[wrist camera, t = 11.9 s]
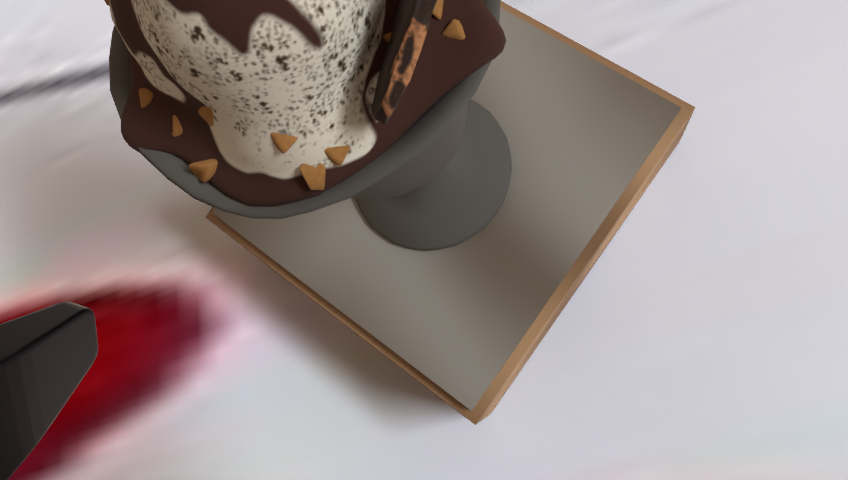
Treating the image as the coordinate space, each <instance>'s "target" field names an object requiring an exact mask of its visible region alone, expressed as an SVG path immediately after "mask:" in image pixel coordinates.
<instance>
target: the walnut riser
mask: <svg viewBox="0 0 848 480" xmlns="http://www.w3.org/2000/svg"><path fill="white" fill-rule="evenodd" d="M499 24H500V26H501V27H502V29H503V31H504V34H505V38H506V44H505V47H504V49H503V52H502V53H501V54H499V55H498V56H497V57H496V58H495V59H494V60H492V61H491V63H490V65H489V67H488V69H487V71H486V73H485V75H484V77H483V79H482V81H481V83H480V85H479V87H478V89H477V91H476V93H475V94H474V95H473V96H472V98H471V100H473V101H475V102H477V103H478V104H480V105H481V106H482V107H484V108H485V109H487V110H488V111H489V112H490V113H491V114H492V115H493V117H494V118H495V119H496V121H497V122H498V123H499V125H500V126H501V128H502V130H503V132H504V134H505V135H506V137H507V140H508V144H509V149H510V153H511V163H512V173H511V178H510V184H509V188H508V191H507V194H506V197H505V200H504V202H503V204H502V205H501V207H500V208H499V210H498V212H497V213H496V215H495V216H494V217H493V218H492V220H491V221H490V222H489V223H488V224H487V226H486V227H485V228H484V229H482V230H481V231H480V232H478V233H477V234H475V235H474V236H472V237H471V238H469V239H467V240H466V241H464V242H462V243H460V244H458V245H456V246H452V247H448V248H444V249H438V250H428V251H422V250H416V249H410V248H406V247H403V246H400V245H397V244H394V243H392V242H391V241H389V240H388V239H386V238H385V237H383V236H381V235H380V234H379V233H378V232H377V231H376V230H374V229H373V228H372V227H371V226H370V225H369V223H368V222H367V220H366V219H365V217H364V216H363V214H362V213H361V211H360V209H359V206H358V204H357V202H356V200H355V198H349V199H347V200H344V201H341V202H338V203H335V204H332V205H329V206H327V207H324V208H321V209H318V210H315V211H312V212H308V213H304V214H300V215H296V216H292V217H288V218H283V219H257V218H248V217H244V216H240V215H236V214H232V213H227V212H224V211H222V210H219V209H217V208H215V207H212V209H211V210H210V212H209V213H208V214H207V216H206V218H207V219H208V220H210V221H211V222H212V223H214V224H215V225H216V226H218V227H219V228H220V229H221V230H223V231H224V232H225V233H227V234H228V235H229V236H231V237H232V238H233V239H234V240H236V241H237V242H238V243H240V244H241V245H242V246H244V247H245V248H246V249H247V250H249V251H250V252H251V253H253V254H254V255H255V256H257V257H258V258H259V259H260V260H262V261H263V262H264V263H266V264H267V265H268V266H270V267H271V268H272V269H273V270H275V271H276V272H277V273H279V274H280V275H281V276H283V277H284V278H285V279H286V280H288V281H289V282H290V283H292V284H293V285H294V286H296V287H297V288H298V289H299V290H301V291H302V292H303V293H305V294H306V295H307V296H309V297H310V298H311V299H312V300H314V301H315V302H316V303H318V304H319V305H320V306H322V307H323V308H324V309H325V310H327V311H328V312H329V313H331V314H332V315H333V316H335V317H336V318H337V319H338V320H340V321H341V322H342V323H344V324H345V325H346V326H348V327H349V328H350V329H351V330H353V331H354V332H355V333H357V334H358V335H359V336H361V337H362V338H363V339H364V340H366V341H367V342H368V343H370V344H371V345H372V346H374V347H375V348H376V349H377V350H379V351H380V352H381V353H383V354H384V355H385V356H387V357H388V358H389V359H390V360H392V361H393V362H394V363H396V364H397V365H398V366H400V367H401V368H402V369H403V370H405V371H406V372H407V373H409V374H410V375H411V376H413V377H414V378H415V379H416V380H418V381H419V382H420V383H422V384H423V385H424V386H426V387H427V388H428V389H429V390H431V391H432V392H433V393H435V394H436V395H437V396H439V397H440V398H441V399H442V400H444V401H445V402H446V403H448V404H449V405H450V406H452V407H453V408H454V409H455V410H457V411H458V412H459V413H461V414H462V415H463V416H465V417H466V418H467V419H468V420H470V421H471V422H472V423H474V424H475V425H476V424H477V423H478V422H480V421H481V420H483V419H484V418H485V417H487V416H488V415H490V414H491V412H492V411H493V410H494V408H495V407H496V405H497V404H498V402H499V401H500V399H501V398H502V397H503V395H504V394H505V392H506V391H507V389H508V388H509V386H510V385H511V384H512V382H513V381H514V379H515V378H516V376H517V375H518V374H519V372H520V371H521V369H522V368H523V366H524V365H525V363H526V362H527V361H528V359H529V358H530V356H531V355H532V353H533V352H534V350H535V349H536V348H537V346H538V345H539V343H540V342H541V340H542V339H543V337H544V336H545V335H546V333H547V332H548V330H549V329H550V327H551V326H552V324H553V323H554V322H555V320H556V319H557V317H558V316H559V314H560V313H561V311H562V310H563V309H564V307H565V306H566V304H567V303H568V301H569V300H570V298H571V297H572V296H573V294H574V293H575V291H576V290H577V288H578V287H579V286H580V284H581V283H582V281H583V280H584V278H585V277H586V275H587V274H588V273H589V271H590V270H591V268H592V267H593V265H594V264H595V262H596V261H597V260H598V258H599V257H600V255H601V254H602V252H603V251H604V249H605V248H606V247H607V245H608V244H609V242H610V241H611V239H612V238H613V236H614V235H615V234H616V232H617V231H618V229H619V228H620V226H621V225H622V223H623V222H624V221H625V219H626V218H627V216H628V215H629V213H630V212H631V210H632V209H633V208H634V206H635V205H636V203H637V202H638V200H639V199H640V198H641V196H642V195H643V193H644V192H645V190H646V189H647V187H648V186H649V185H650V183H651V182H652V180H653V179H654V177H655V176H656V174H657V173H658V172H659V170H660V169H661V167H662V166H663V164H664V163H665V161H666V160H667V159H668V157H669V156H670V154H671V153H672V151H673V150H674V148H675V147H676V146H677V144H678V143H679V141H680V139H681V137H682V135H683V133H684V131H685V129H686V126H687V124H688V122H689V120H690V118H691V116H692V113H693V111H694V109H695V107H694V106H692V105H690V104H688V103H686V102H684V101H683V100H681V99H679V98H677V97H675V96H673V95H672V94H670V93H668V92H666V91H664V90H662V89H661V88H659V87H657V86H655V85H653V84H652V83H650V82H648V81H646V80H644V79H642V78H641V77H639V76H637V75H635V74H633V73H631V72H630V71H628V70H626V69H624V68H622V67H621V66H619V65H617V64H615V63H613V62H611V61H610V60H608V59H606V58H604V57H602V56H600V55H599V54H597V53H595V52H593V51H591V50H589V49H588V48H586V47H584V46H582V45H580V44H579V43H577V42H575V41H573V40H571V39H569V38H568V37H566V36H564V35H562V34H560V33H558V32H557V31H555V30H553V29H551V28H549V27H547V26H546V25H544V24H542V23H540V22H538V21H537V20H535V19H533V18H531V17H529V16H527V15H526V14H524V13H522V12H520V11H518V10H516V9H515V8H513V7H511V6H509V5H507V4H505V3H504V2H502V1H500V20H499Z"/></svg>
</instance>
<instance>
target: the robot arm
mask: <svg viewBox="0 0 848 480" xmlns="http://www.w3.org/2000/svg"><path fill="white" fill-rule="evenodd" d="M97 351H98V342H97V332H96V323H95V315H94V313H93V311H92V310H91V309H89V308H87V307H84V306H81V305H78V304H75V303H72V302H62V303H59V304H56V305H53V306H50V307H47V308H44V309H42V310H39V311H36V312H33V313H30V314H28V315H25V316H22V317H19V318H16V319H13V320H11V321H8V322H5V323H2V324H0V480H8V479H9V478H10V477H11V475H12V474H13V473H14V472H15V471H16V470H17V468H18V467H19V466H20V465H21V464H22V462H23V461H24V460H25V459H26V458H27V456H28V455H29V454H30V453H31V451H32V450H33V449H34V448H35V446H36V445H37V444H38V442H39V441H40V440H41V438H42V437H43V436H44V434H45V433H46V431H47V430H48V428H49V427H50V425H51V424H52V423H53V421H54V420H55V418H56V417H57V415H58V414H59V412H60V411H61V409H62V408H63V406H64V405H65V404H66V402H67V401H68V399H69V398H70V396H71V395H72V393H73V392H74V390H75V389H76V388H77V386H78V385H79V383H80V382H81V380H82V379H83V377H84V376H85V374H86V373H87V371H88V370H89V369H90V367H91V366H92V364H93V362H94V360H95V358H96V355H97Z"/></svg>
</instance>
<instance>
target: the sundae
mask: <svg viewBox="0 0 848 480" xmlns="http://www.w3.org/2000/svg"><path fill="white" fill-rule="evenodd" d="M500 1H501V0H105V2H106V4H107V5H109V6H110V12H111V17H112V21H113V22H114V24H115V25H114V29H113V32H112V40H111V48H110V56H109V69H110V91H111V94H112V97H113V100H114V102H115V105H116V108H117V111H118V113H119V116H120V119H121V132H122V135H123V138H124V140H125V141H126V142H127V143H128V145H129V146H130V147H132V148H133V149H135V150H136V151H138V152H140V153H141V154H142V155H143V156H144V157H145V158H146V159H147V160H148V161H149V162H150V163H151V164H152V165H153V166H154V167H155V168H157V169H158V170H159V171H160V172H161V173H162V174H163V175H164V176H165V177H166V178H167V179H168V180H170V181H171V182H173V183H174V184H175V185H177V186H178V187H179V188H181V189H182V190H183V191H185V192H186V193H188V194H189V195H190V196H192V197H193V198H195V199H197V200H199V201H201V202H204V203H206V204H208V205H210V206H213V207H215V208H217V209H219V210H222V211H224V212H227V213H232V214H236V215H240V216H244V217H248V218H257V219H283V218H288V217H292V216H296V215H300V214H304V213H308V212H312V211H315V210H318V209H321V208H324V207H327V206H329V205H332V204H335V203H338V202H341V201H344V200H347V199H349V198H355V200H356V202H357V204H358V206H359V209H360V211H361V213H362V214H363V216H364V217H365V219H366V220H367V222H368V223H369V225H370V226H371V227H372V228H373V229H374V230H376V231H377V232H378V233H379V234H380V235H381V236H383V237H385V238H386V239H388V240H389V241H391V242H392V243H394V244H397V245H400V246H403V247H406V248H410V249H416V250H422V251H428V250H438V249H444V248H448V247H452V246H456V245H458V244H460V243H462V242H464V241H466V240H467V239H469V238H471V237H472V236H474V235H475V234H477V233H478V232H480V231H481V230H482V229H484V228H485V227H486V226H487V224H488V223H489V222H490V221H491V220H492V218H493V217H494V216H495V215H496V213H497V212H498V210H499V208H500V207H501V205H502V204H503V202H504V200H505V197H506V194H507V191H508V188H509V184H510V178H511V173H512V163H511V153H510V149H509V144H508V140H507V137H506V135H505V134H504V132H503V130H502V128H501V126H500V125H499V123H498V122H497V121H496V119H495V118H494V117H493V115H492V114H491V113H490V112H489V111H488V110H487V109H485V108H484V107H482V106H481V105H480V104H478V103H477V102H475V101H473V100H471V98H472V96H473V95H474V94H475V93H476V91H477V89H478V87H479V85H480V83H481V81H482V79H483V77H484V75H485V73H486V71H487V69H488V67H489V65H490V63H491V61H492V60H494V59H495V58H496V57H497V56H498V55H499V54H501V53H502V52H503V49H504V47H505V44H506V38H505V34H504V31H503V29H502V27H501V26H500V24H499V20H500Z"/></svg>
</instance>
